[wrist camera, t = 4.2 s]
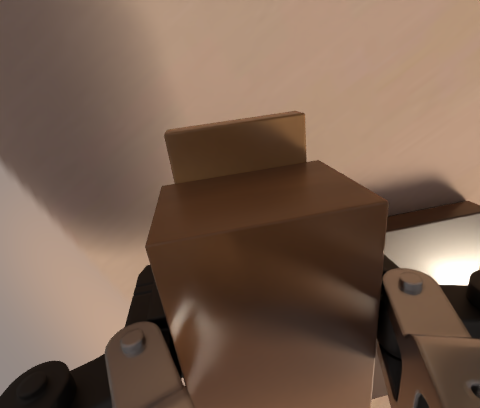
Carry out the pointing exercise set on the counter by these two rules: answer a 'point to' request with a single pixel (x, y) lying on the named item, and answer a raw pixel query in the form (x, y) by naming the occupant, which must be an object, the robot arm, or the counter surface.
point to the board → (433, 250)
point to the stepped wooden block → (267, 268)
